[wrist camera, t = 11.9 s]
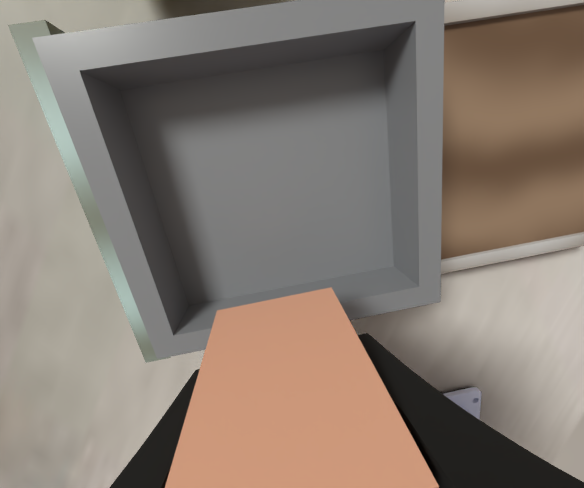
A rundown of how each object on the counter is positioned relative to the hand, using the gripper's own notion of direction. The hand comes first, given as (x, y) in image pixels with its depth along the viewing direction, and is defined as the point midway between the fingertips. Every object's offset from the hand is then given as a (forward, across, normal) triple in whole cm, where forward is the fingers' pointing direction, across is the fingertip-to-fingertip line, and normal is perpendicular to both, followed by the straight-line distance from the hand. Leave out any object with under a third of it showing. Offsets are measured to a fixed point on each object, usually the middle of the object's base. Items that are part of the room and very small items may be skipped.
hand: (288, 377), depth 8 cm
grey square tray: (+8, -1, -5) cm, 9 cm away
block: (+2, 0, 0) cm, 2 cm away
